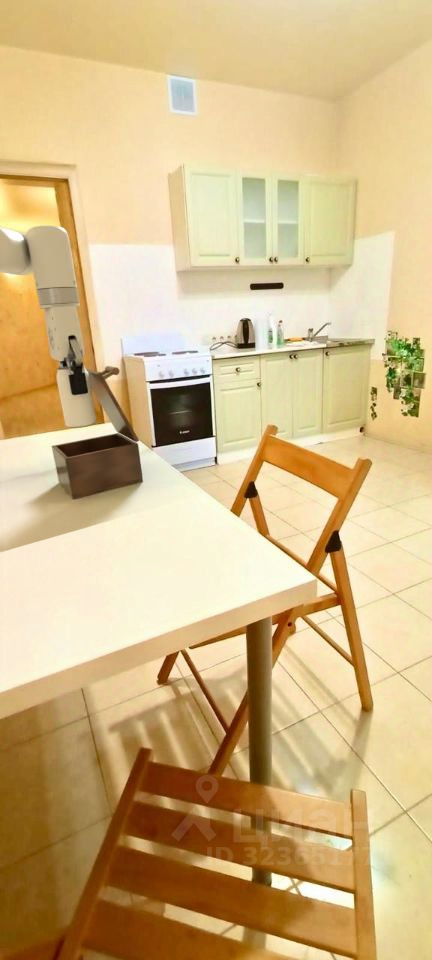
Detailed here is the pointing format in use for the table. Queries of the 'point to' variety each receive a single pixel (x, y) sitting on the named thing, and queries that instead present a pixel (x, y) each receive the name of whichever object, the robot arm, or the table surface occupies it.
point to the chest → (97, 464)
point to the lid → (110, 401)
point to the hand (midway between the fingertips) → (75, 391)
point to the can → (75, 401)
